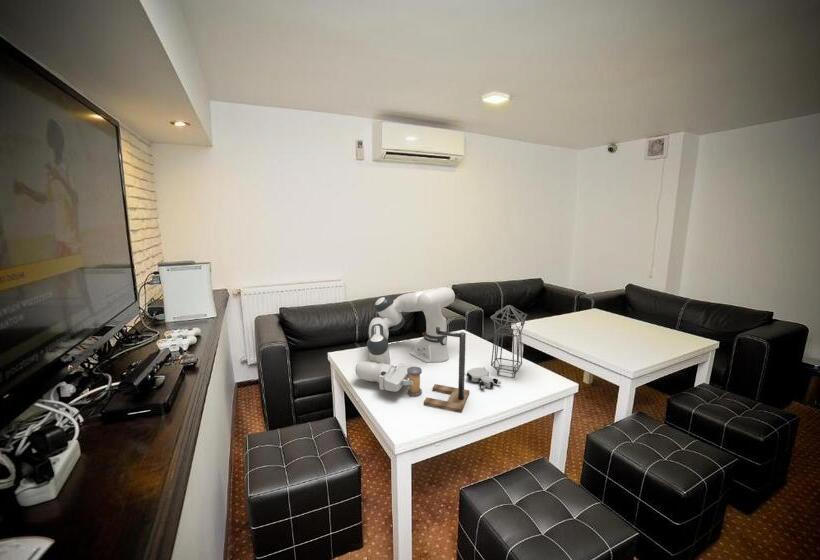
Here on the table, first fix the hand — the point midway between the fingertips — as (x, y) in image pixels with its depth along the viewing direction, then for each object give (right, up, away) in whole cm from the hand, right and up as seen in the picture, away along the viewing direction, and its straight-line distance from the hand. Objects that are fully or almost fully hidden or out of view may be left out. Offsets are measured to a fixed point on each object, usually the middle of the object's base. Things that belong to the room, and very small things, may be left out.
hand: (416, 379), depth 147 cm
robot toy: (+31, -5, +10) cm, 33 cm away
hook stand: (+14, -6, -4) cm, 16 cm away
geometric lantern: (+46, -3, +21) cm, 50 cm away
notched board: (+13, -7, -4) cm, 16 cm away
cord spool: (-1, -6, +2) cm, 7 cm away
